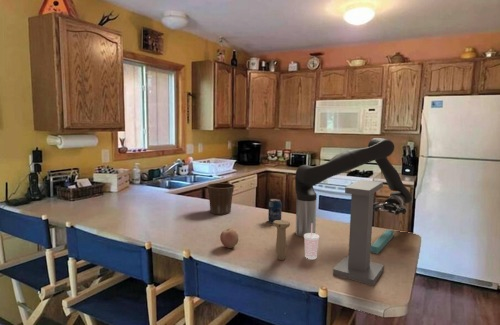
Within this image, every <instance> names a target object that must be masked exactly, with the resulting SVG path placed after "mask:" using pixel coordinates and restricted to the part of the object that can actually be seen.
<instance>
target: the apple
mask: <svg viewBox="0 0 500 325" xmlns="http://www.w3.org/2000/svg"><path fill="white" fill-rule="evenodd" d="M219 237H220V242H221V244H222V246H224V247H225V248H228V249H232V248H233V247H235V246H236V245H237V244H238V243H239V234H238V232H237V230H235V229H234V228H231V227H230V228H227V229H225V230H223V231H221V233H220V235H219Z"/></svg>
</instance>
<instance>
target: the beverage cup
mask: <svg viewBox="0 0 500 325" xmlns="http://www.w3.org/2000/svg"><path fill="white" fill-rule="evenodd" d="M312 226H313V223H311V233H306V234H304V237H303V238H304V257H306V258H305V259H307V258H308V259H307V260H316V259H317V257H318V248H319V239H320V235H319V234H318V233H316V232H315V233H312Z"/></svg>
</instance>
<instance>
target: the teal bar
mask: <svg viewBox="0 0 500 325" xmlns="http://www.w3.org/2000/svg"><path fill="white" fill-rule="evenodd" d="M394 232H395V230H392V229H386V230H385V231H384V232H383V233H382V234H381V235H380V236H379V237H378V238H377V239H375V241H374V242H373V243H371V253H373V254H377V255H378V254H379V253H380V252H381V251H382V249H383V248H385V246H387V244H388V243H389V242H390V240H392V239H393V237H394Z"/></svg>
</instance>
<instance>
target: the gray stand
mask: <svg viewBox="0 0 500 325" xmlns="http://www.w3.org/2000/svg"><path fill="white" fill-rule="evenodd" d="M383 185H384V182H383V181H377V180H367V179H360V180H358V181H355V182H354V183H352V184H349V185H347V186H345V187H344V194H349V195H351V196H350V197H351V198H350V220H349V237H348V238H349V239H348V255H346V256H344V257H343V259H341V261H340V262H339V263H338V264H336V265H335V267H333V268H332V274H333V275H334V276H338V277H341V278H345V279H348V280H353V281H356V282H357V283H358V282H360V283H362V284H364V285H365V284H366V285H369V286H374V285H375V284H376V282H377V280H378V279H379V278H380V277H381V275H382V273H383V272H384V270H385V268H384V267H385V265H384V264H381V263H377V262H372V261H371V253H372V252H371V245H372V234H373V219H374V218H373V216H374V215H373V214H374V209H373V204H374V199H375V198H374V197H375V196H374V195H375V193H377V192H378V191H380V190H381V189H383V187H384V186H383Z"/></svg>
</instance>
